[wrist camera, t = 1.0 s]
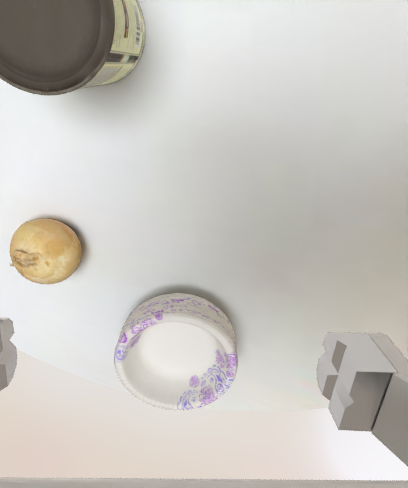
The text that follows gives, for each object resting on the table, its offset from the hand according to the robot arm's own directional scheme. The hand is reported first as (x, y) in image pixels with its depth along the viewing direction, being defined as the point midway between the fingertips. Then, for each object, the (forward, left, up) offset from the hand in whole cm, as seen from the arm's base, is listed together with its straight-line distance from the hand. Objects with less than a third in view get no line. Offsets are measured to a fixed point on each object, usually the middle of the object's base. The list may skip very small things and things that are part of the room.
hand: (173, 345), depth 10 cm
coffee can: (+7, -12, -35) cm, 38 cm away
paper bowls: (+10, +25, -35) cm, 44 cm away
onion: (+21, +8, -35) cm, 42 cm away
